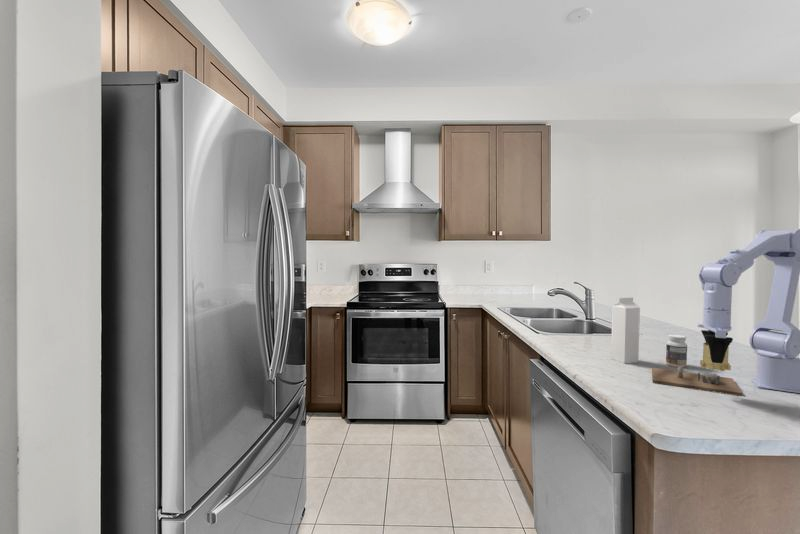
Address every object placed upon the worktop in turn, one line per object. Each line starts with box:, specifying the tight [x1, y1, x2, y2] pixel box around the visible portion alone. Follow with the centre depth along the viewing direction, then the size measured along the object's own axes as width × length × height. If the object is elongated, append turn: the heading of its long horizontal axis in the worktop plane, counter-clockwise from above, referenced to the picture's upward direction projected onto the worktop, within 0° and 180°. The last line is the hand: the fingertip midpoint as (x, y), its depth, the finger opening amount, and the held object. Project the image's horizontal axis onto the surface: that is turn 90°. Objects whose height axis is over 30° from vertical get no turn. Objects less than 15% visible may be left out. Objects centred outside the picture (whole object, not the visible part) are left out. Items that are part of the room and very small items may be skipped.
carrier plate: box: [651, 367, 743, 397], centre depth 118 cm, size 20×14×4 cm
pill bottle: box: [665, 334, 688, 368], centre depth 134 cm, size 6×6×10 cm
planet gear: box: [699, 342, 732, 372], centre depth 107 cm, size 6×6×6 cm
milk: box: [610, 296, 641, 364], centre depth 139 cm, size 6×6×22 cm
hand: (715, 360), depth 107 cm, fingers closed on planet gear, 5 cm apart
